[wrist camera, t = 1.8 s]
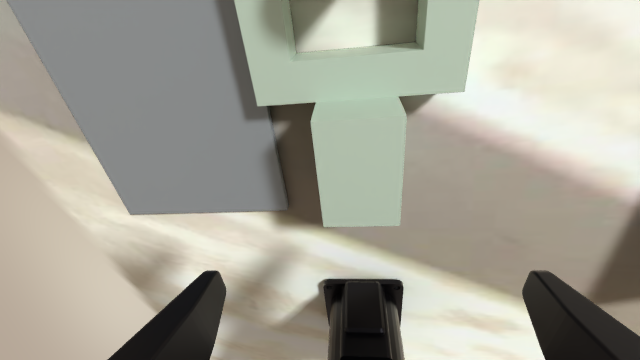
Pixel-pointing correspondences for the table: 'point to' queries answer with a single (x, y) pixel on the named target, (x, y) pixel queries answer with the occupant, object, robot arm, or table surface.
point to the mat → (162, 100)
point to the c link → (358, 98)
